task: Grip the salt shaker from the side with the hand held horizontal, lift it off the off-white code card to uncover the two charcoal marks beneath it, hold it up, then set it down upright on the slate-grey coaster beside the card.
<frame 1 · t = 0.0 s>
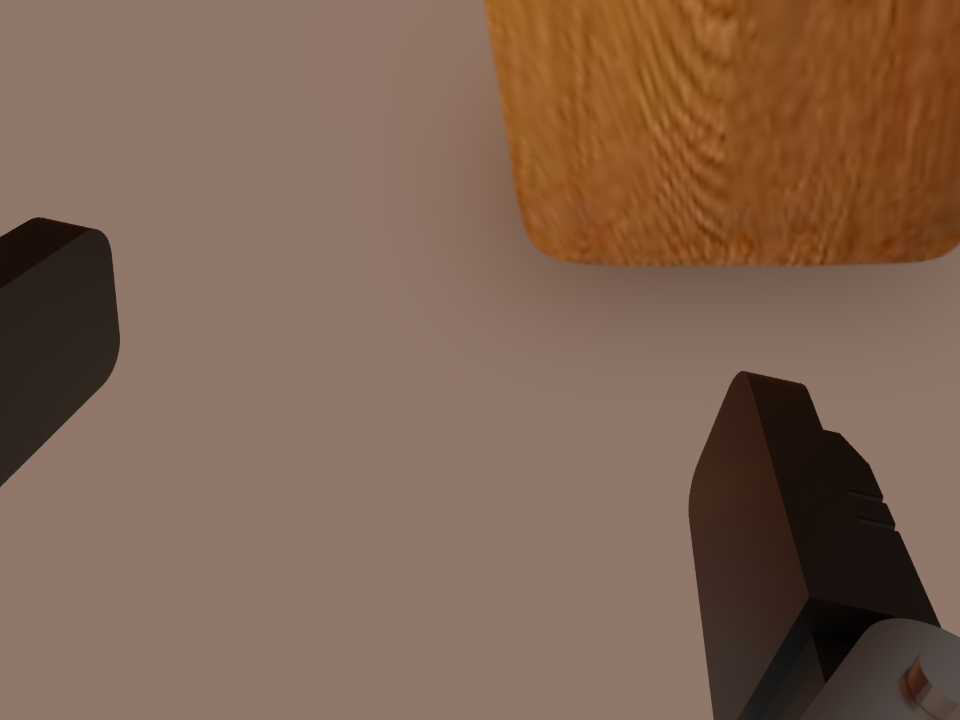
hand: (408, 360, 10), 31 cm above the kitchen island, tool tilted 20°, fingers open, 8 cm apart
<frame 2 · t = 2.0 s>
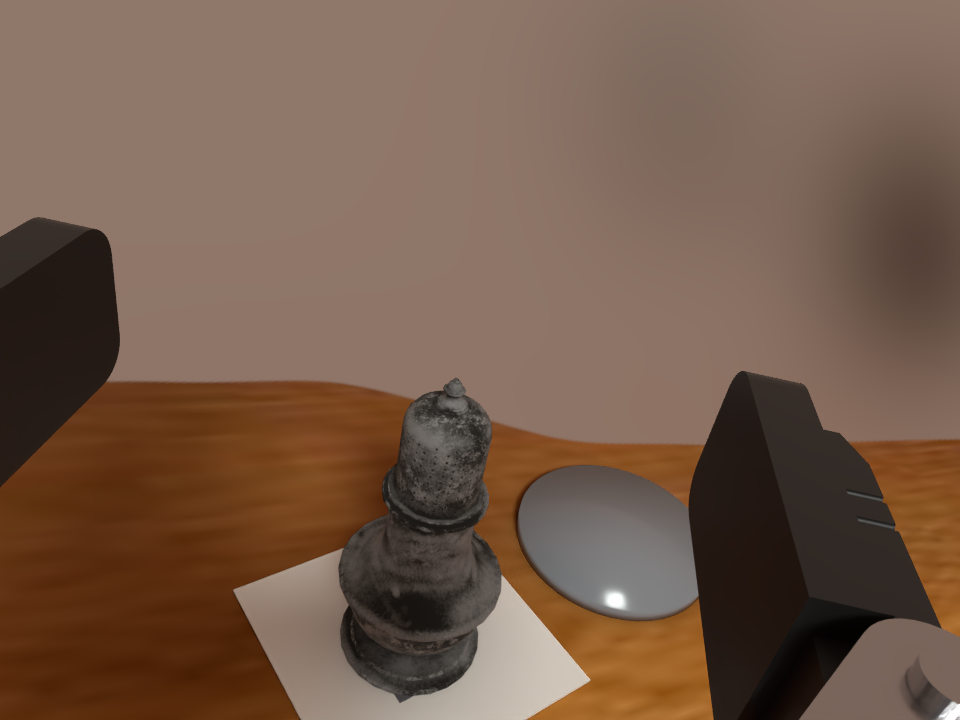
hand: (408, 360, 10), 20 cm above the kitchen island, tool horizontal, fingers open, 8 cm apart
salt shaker: (409, 636, 30), resting on code card
coaster: (612, 540, 36), on the kitchen island
code card: (409, 635, 30), on the kitchen island
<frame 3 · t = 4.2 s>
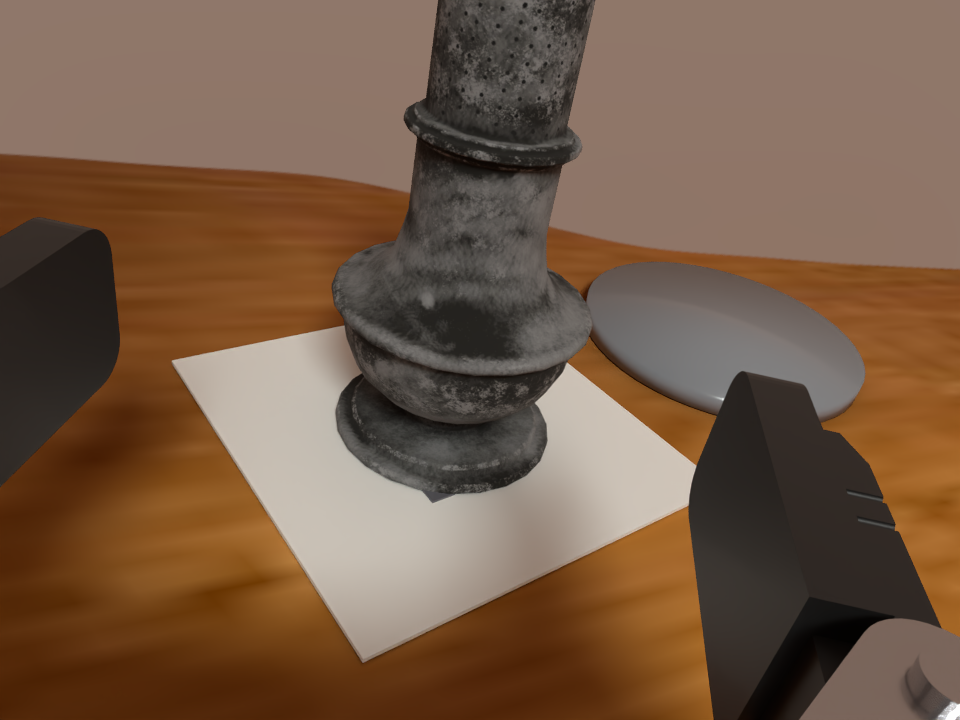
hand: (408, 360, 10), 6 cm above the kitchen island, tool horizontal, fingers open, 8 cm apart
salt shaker: (441, 426, 20), resting on code card
coaster: (717, 340, 26), on the kitchen island
code card: (441, 425, 20), on the kitchen island
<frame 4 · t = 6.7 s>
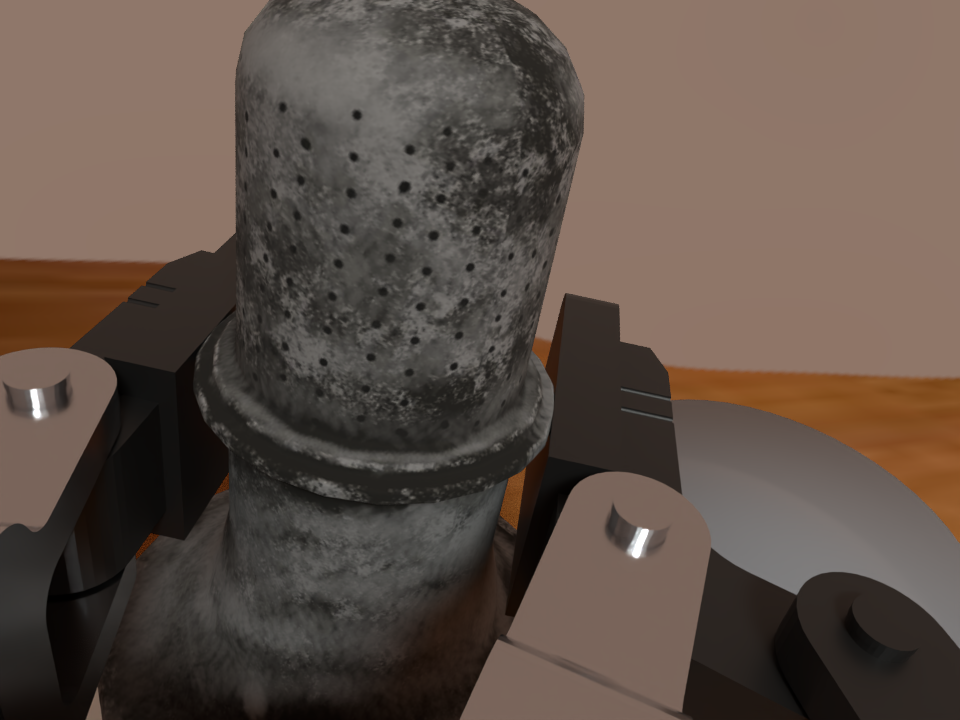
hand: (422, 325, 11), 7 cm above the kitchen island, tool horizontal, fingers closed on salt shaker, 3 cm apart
coaster: (764, 537, 18), on the kitchen island
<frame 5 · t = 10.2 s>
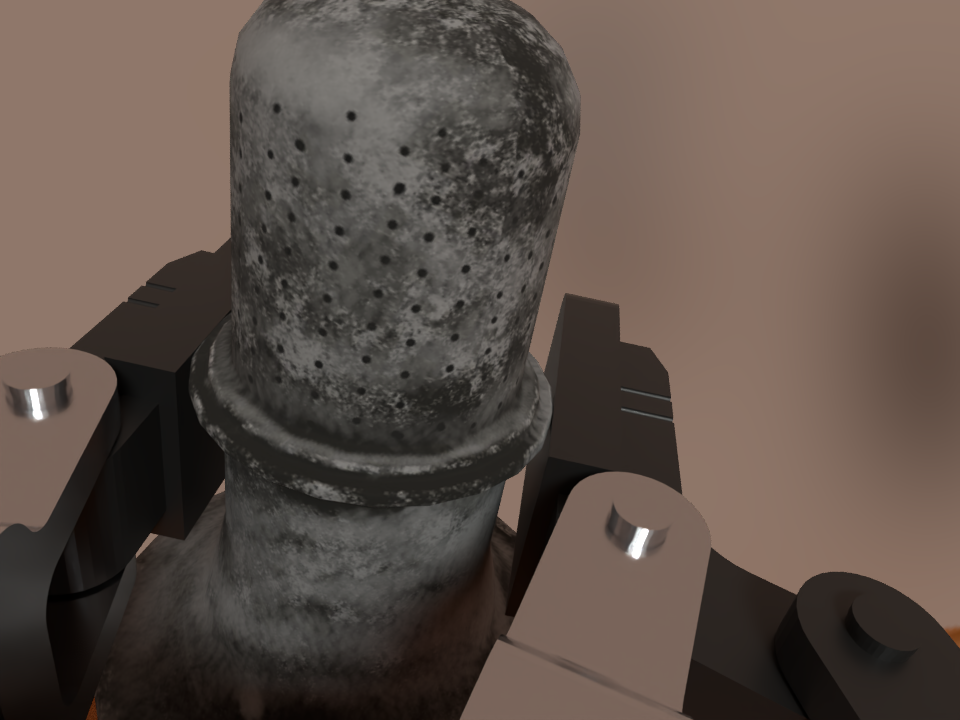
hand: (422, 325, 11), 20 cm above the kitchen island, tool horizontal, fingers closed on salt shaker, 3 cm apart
when the fingers open (8 cm above the kitchen island, at t = 13.9 s): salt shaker stays where it is, resting on coaster.
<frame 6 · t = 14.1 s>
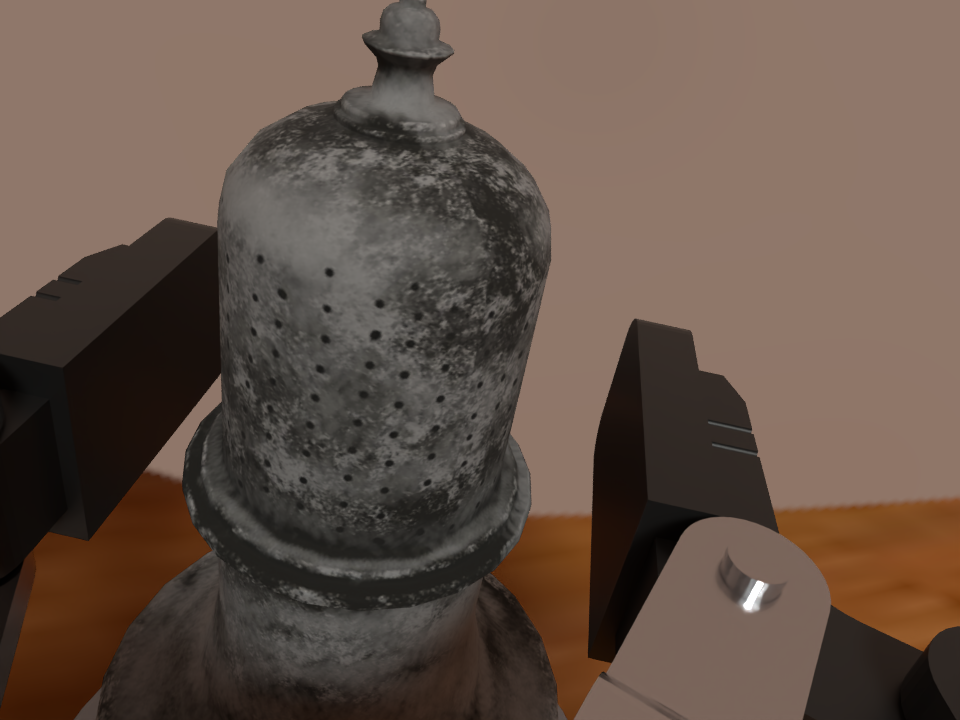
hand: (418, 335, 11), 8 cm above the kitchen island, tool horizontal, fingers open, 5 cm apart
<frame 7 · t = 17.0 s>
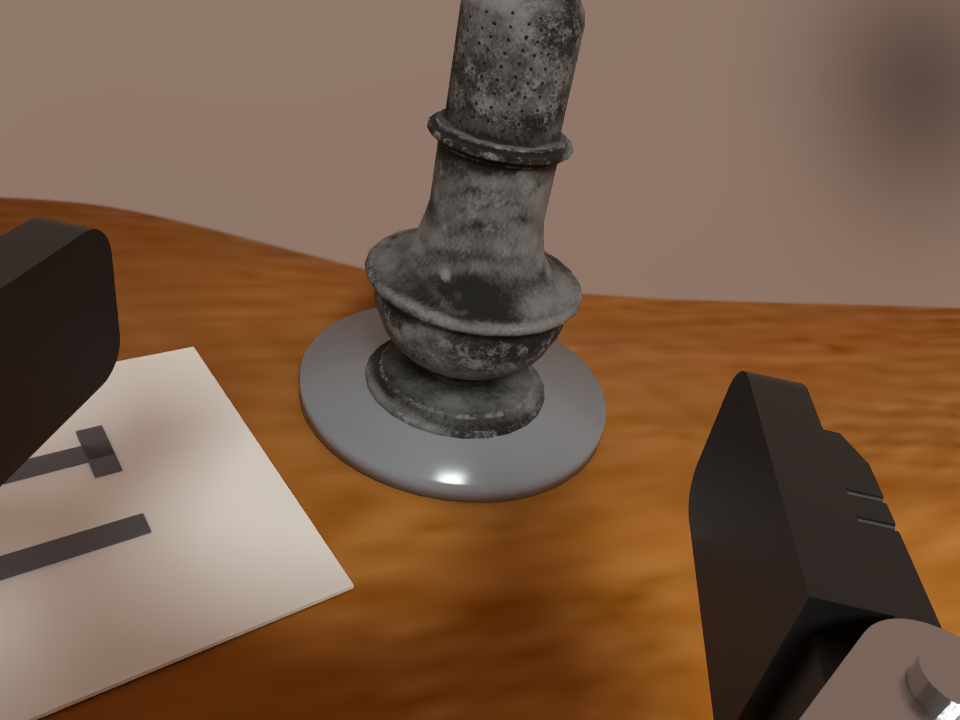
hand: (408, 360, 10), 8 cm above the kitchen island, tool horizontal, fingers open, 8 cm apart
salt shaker: (454, 386, 23), resting on coaster
coaster: (453, 395, 23), on the kitchen island
code card: (42, 511, 17), on the kitchen island
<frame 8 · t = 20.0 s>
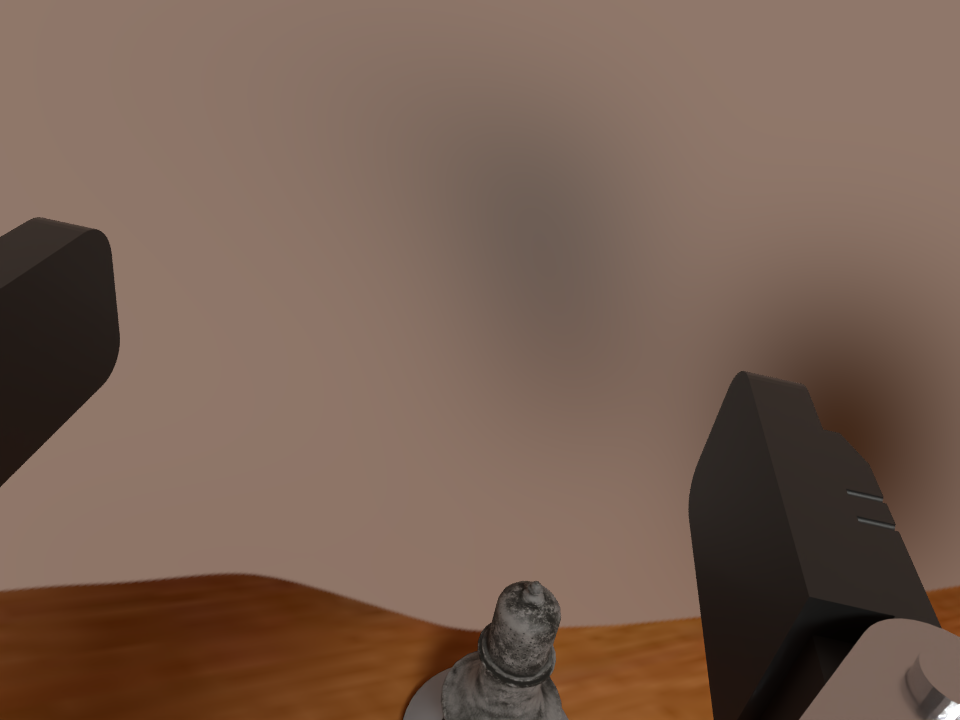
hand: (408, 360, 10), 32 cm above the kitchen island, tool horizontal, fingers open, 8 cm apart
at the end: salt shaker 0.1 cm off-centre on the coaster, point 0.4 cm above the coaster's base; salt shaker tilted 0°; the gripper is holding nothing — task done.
